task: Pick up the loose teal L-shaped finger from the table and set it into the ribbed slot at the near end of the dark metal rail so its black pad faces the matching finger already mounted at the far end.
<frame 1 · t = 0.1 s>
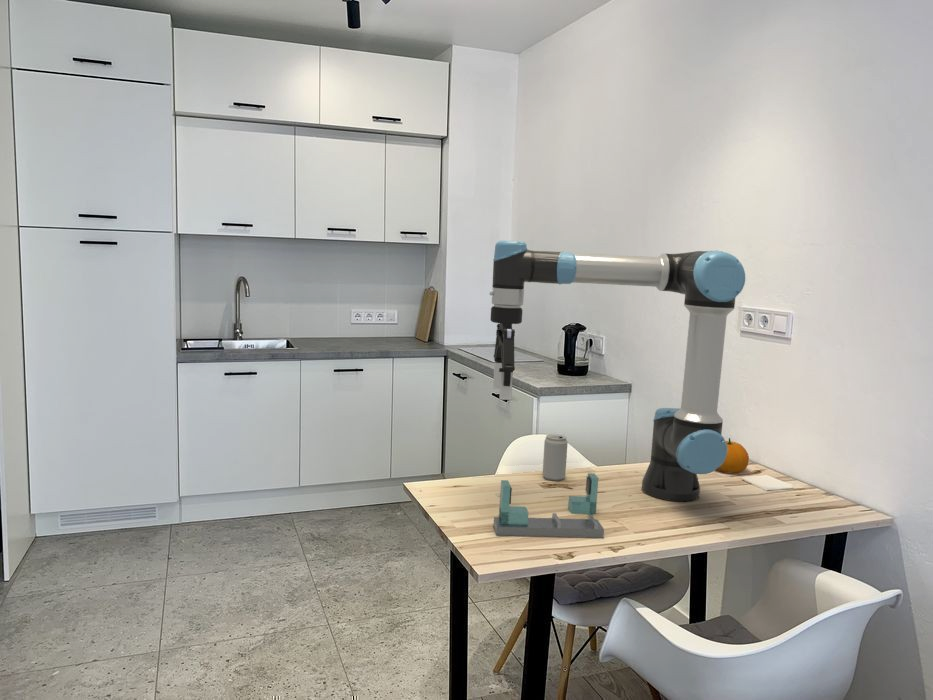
hand: (501, 394, 176), 28 cm above the table, fingers open, 13 cm apart
fruit: (726, 470, 221), on the table
beverage can: (553, 478, 204), on the table
rail: (547, 531, 164), on the table
loose finger: (581, 510, 178), on the table
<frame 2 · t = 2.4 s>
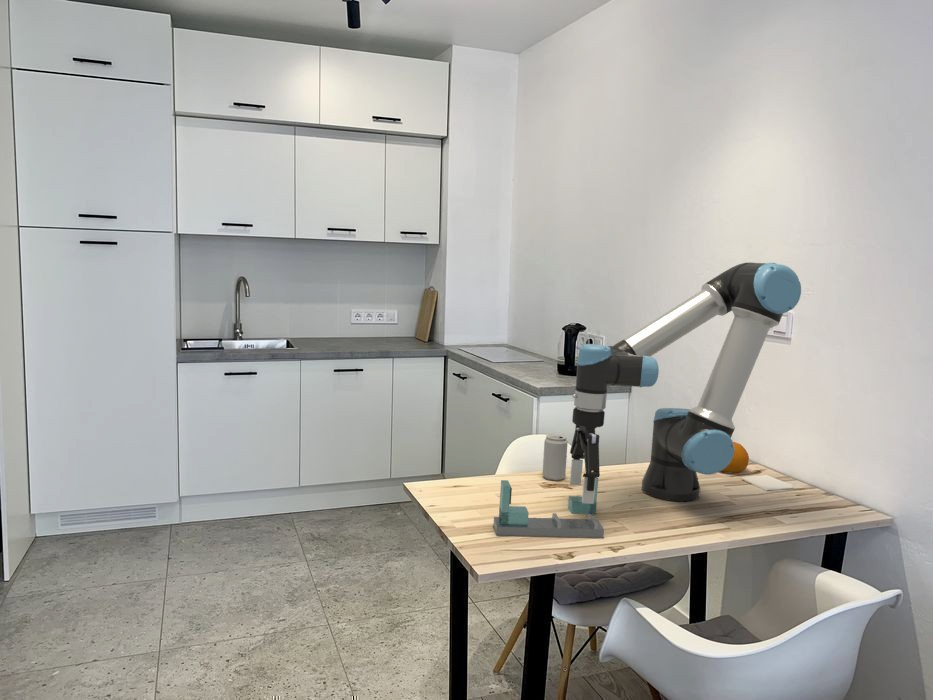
hand: (581, 493, 178), 4 cm above the table, fingers open, 13 cm apart
nothing on the table moved.
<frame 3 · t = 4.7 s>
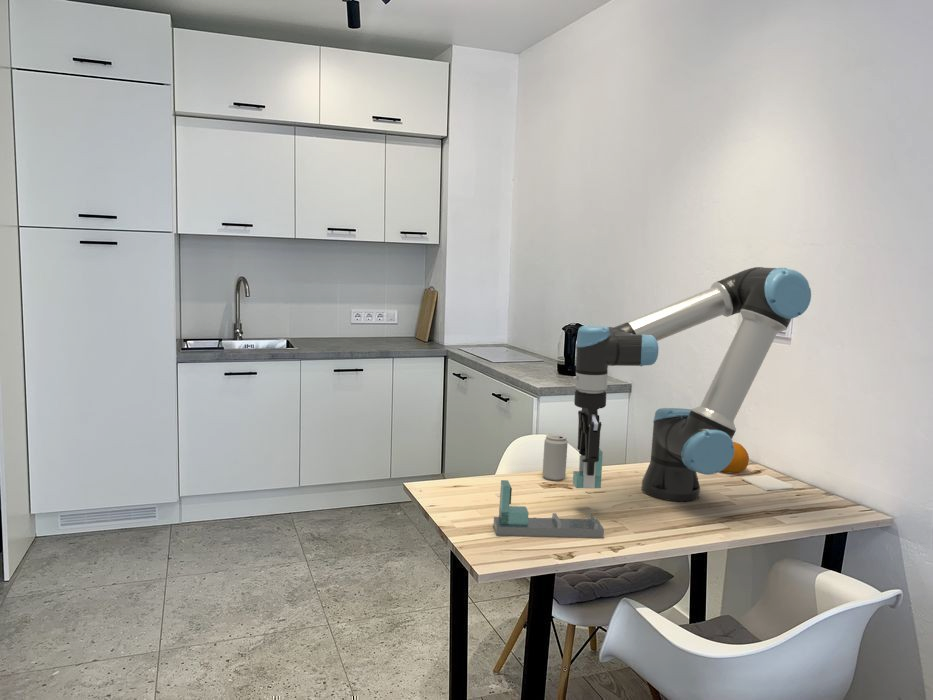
hand: (586, 484, 177), 7 cm above the table, fingers closed on loose finger, 4 cm apart
loose finger: (586, 485, 178), point 6 cm above the table, touching gripper
everything else where it was.
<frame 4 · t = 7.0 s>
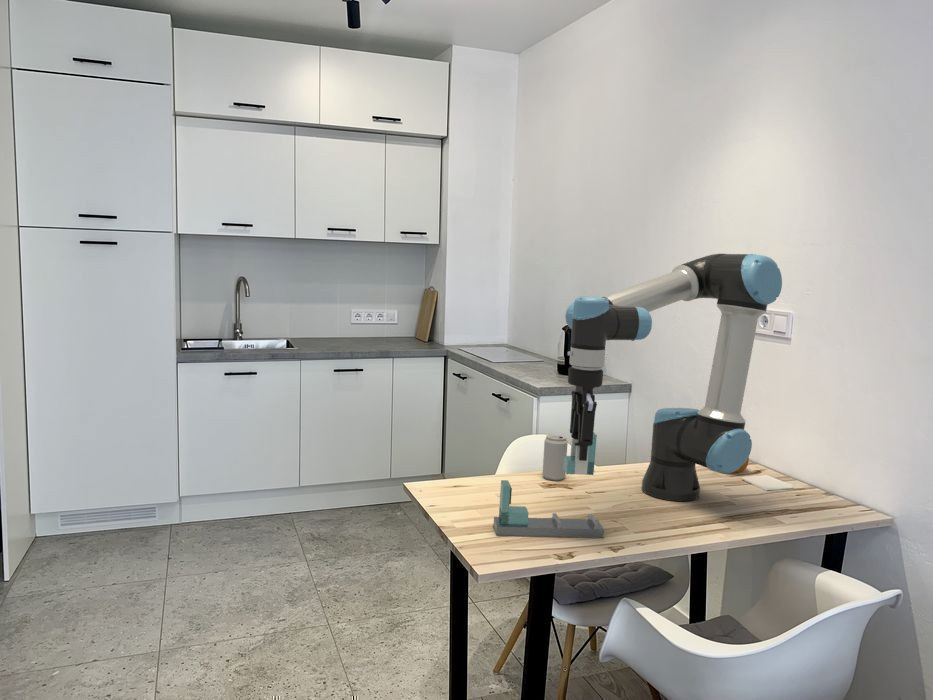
hand: (578, 470, 162), 14 cm above the table, fingers closed on loose finger, 4 cm apart
loose finger: (578, 471, 162), point 14 cm above the table, touching gripper
everything else where it was.
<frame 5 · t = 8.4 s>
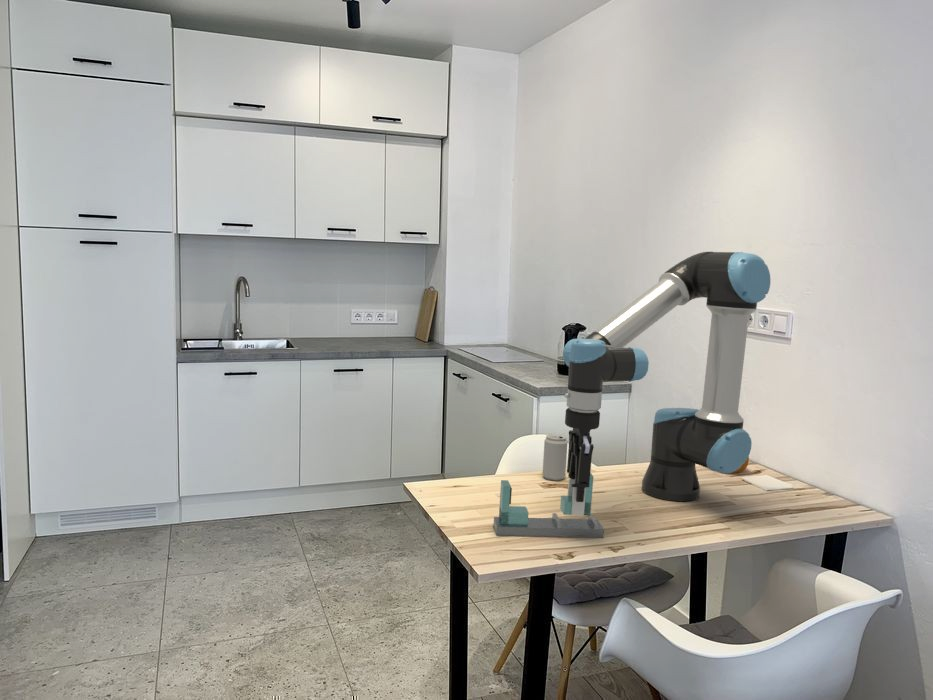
hand: (575, 510, 163), 5 cm above the table, fingers closed on loose finger, 4 cm apart
loose finger: (575, 512, 163), point 5 cm above the table, touching gripper
everything else where it was.
when the fingers open (4 cm above the table, at t = 9.4 s): loose finger drops 1 cm, resting on rail.
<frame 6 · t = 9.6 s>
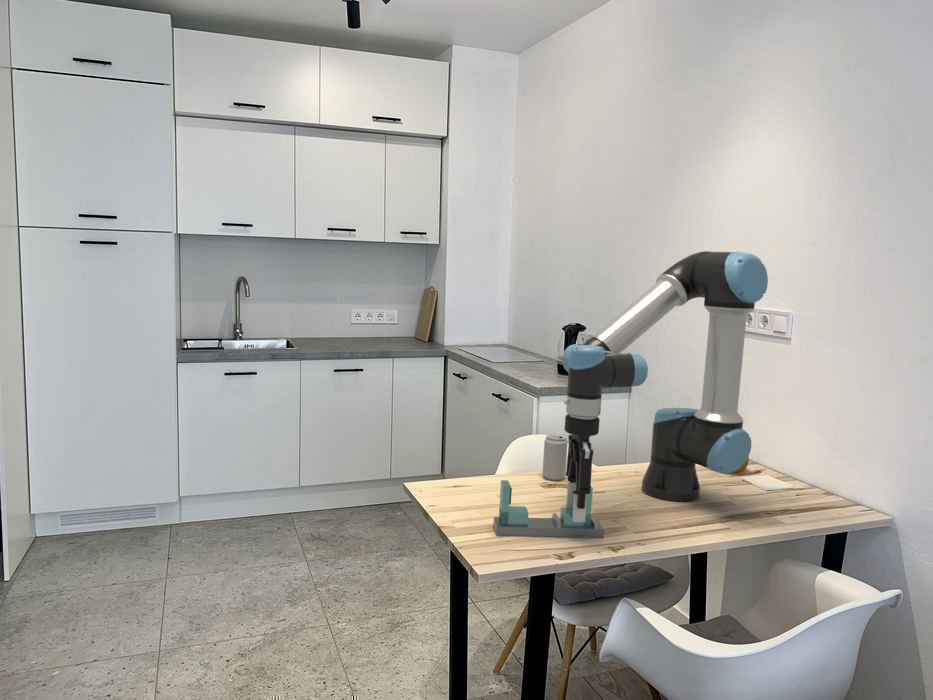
hand: (575, 515, 164), 4 cm above the table, fingers open, 6 cm apart
loose finger: (574, 523, 164), point 2 cm above the table, touching rail
everything else where it was.
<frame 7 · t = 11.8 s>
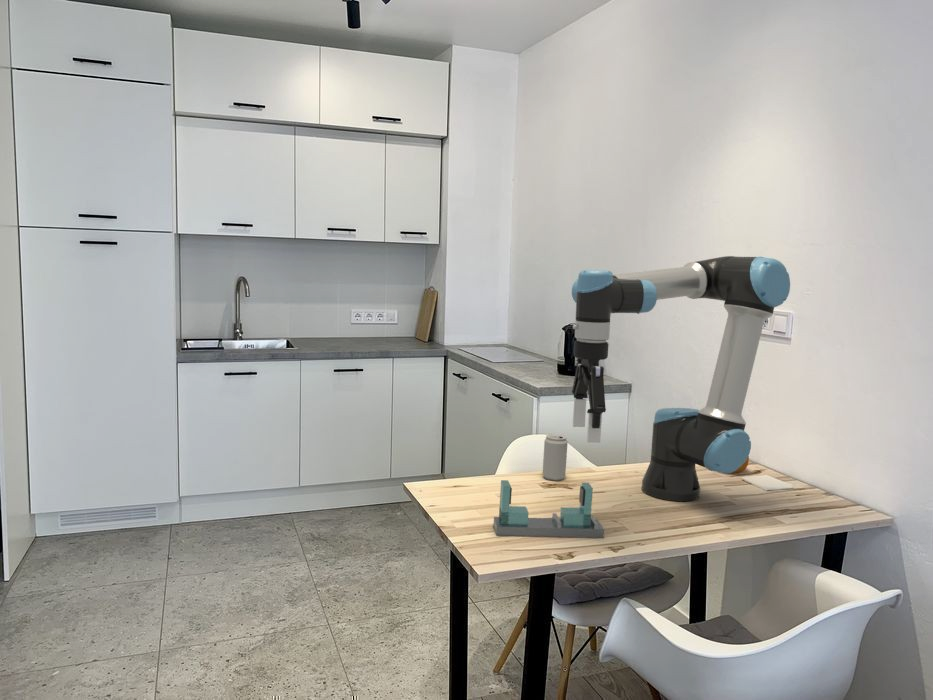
hand: (585, 434, 163), 22 cm above the table, fingers open, 13 cm apart
nothing on the table moved.
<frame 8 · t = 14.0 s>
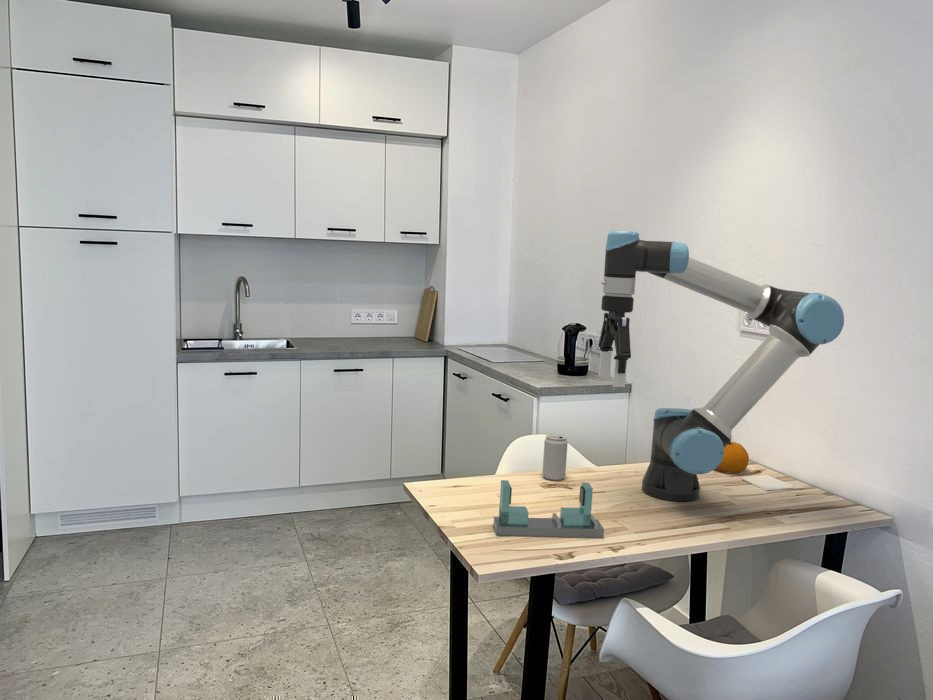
hand: (611, 381, 178), 32 cm above the table, fingers open, 13 cm apart
nothing on the table moved.
at the end: loose finger 0.0 cm from the target spot on the rail, point 2.0 cm above the rail's base; loose finger tilted 0°; the gripper is holding nothing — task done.
